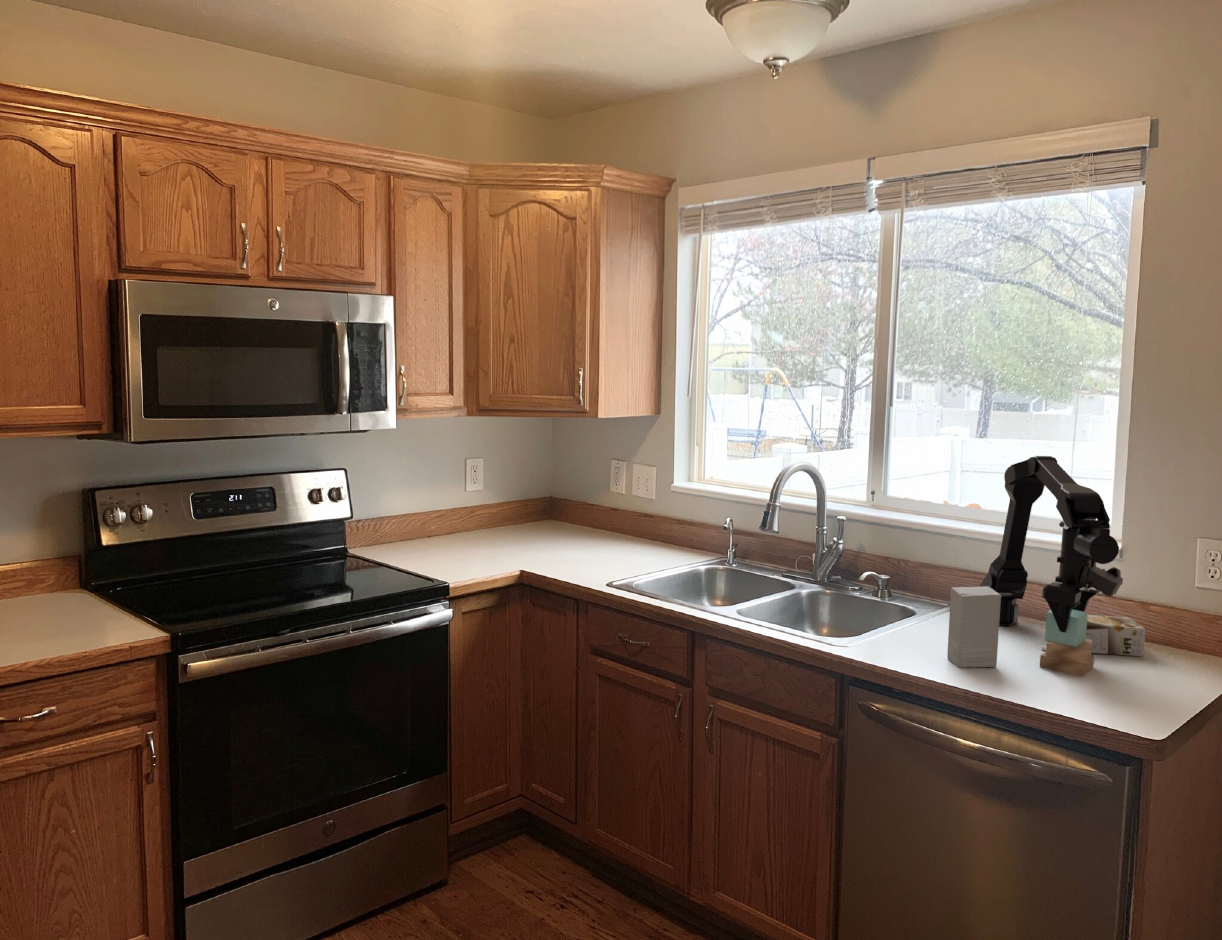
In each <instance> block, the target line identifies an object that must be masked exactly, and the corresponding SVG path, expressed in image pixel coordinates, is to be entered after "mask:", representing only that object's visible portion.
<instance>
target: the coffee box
mask: <svg viewBox="0 0 1222 940" xmlns="http://www.w3.org/2000/svg"><path fill="white" fill-rule="evenodd" d="M1086 639H1090V640H1092V647H1091V654H1098V655H1099V654H1103V655H1115V656H1117V655H1119V656H1133V657H1135V656H1136V657H1144V653H1145V652H1144V651H1145V639H1146V628H1144V627H1143V626H1142V625H1141V624H1139V623H1138V622H1136V621H1135V620H1134V619H1132V618H1131V617H1129V616H1128V617H1127V616H1115V615H1114V616H1111V615H1093V614H1088V616H1087V628H1086Z"/></svg>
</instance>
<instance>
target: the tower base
mask: <svg viewBox="0 0 1222 940" xmlns="http://www.w3.org/2000/svg"><path fill="white" fill-rule="evenodd" d="M1039 658H1040V659H1039V668H1041V669H1043V670H1044V669H1046V670H1049V671H1052V672H1053V671H1054V672H1057V673H1063V674H1067V675H1071V676H1075V677H1078V678H1082V677H1083V676H1085V674H1086V675H1087V673H1089V672H1090V671H1092V669H1094V665H1095V655H1092V654H1091V657H1090V665H1089V664H1083V663H1076V662H1070V661H1063V660H1057V659H1050V658H1046V651H1044V652H1043V653H1042V654H1040V655H1039Z"/></svg>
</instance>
